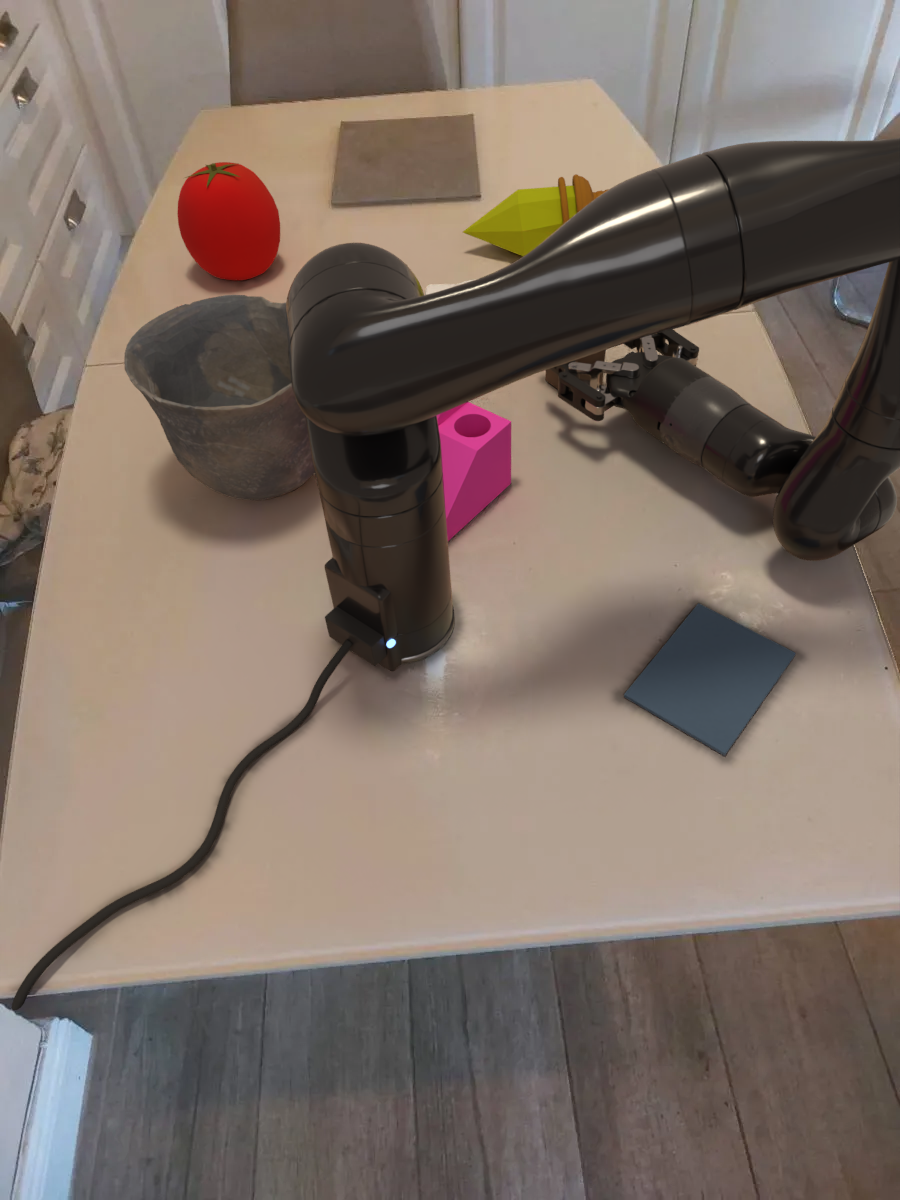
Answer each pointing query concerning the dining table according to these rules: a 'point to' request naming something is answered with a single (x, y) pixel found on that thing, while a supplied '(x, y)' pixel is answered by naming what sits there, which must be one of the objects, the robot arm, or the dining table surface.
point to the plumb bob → (532, 215)
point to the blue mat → (710, 678)
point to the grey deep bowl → (225, 394)
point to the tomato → (229, 221)
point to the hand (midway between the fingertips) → (580, 338)
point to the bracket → (472, 461)
